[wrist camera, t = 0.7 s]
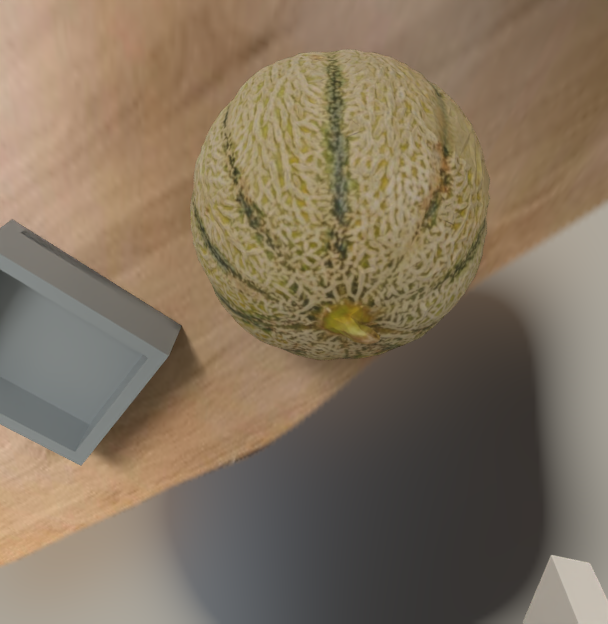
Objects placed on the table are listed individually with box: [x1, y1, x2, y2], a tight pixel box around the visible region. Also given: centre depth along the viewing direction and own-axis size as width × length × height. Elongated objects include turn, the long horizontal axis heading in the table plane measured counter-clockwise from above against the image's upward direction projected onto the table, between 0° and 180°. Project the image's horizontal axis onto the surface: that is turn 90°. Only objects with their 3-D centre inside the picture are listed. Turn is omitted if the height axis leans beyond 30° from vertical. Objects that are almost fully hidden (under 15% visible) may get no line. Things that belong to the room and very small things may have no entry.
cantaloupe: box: [190, 49, 490, 360], centre depth 28 cm, size 15×15×15 cm
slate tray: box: [0, 220, 181, 465], centre depth 39 cm, size 13×13×4 cm
